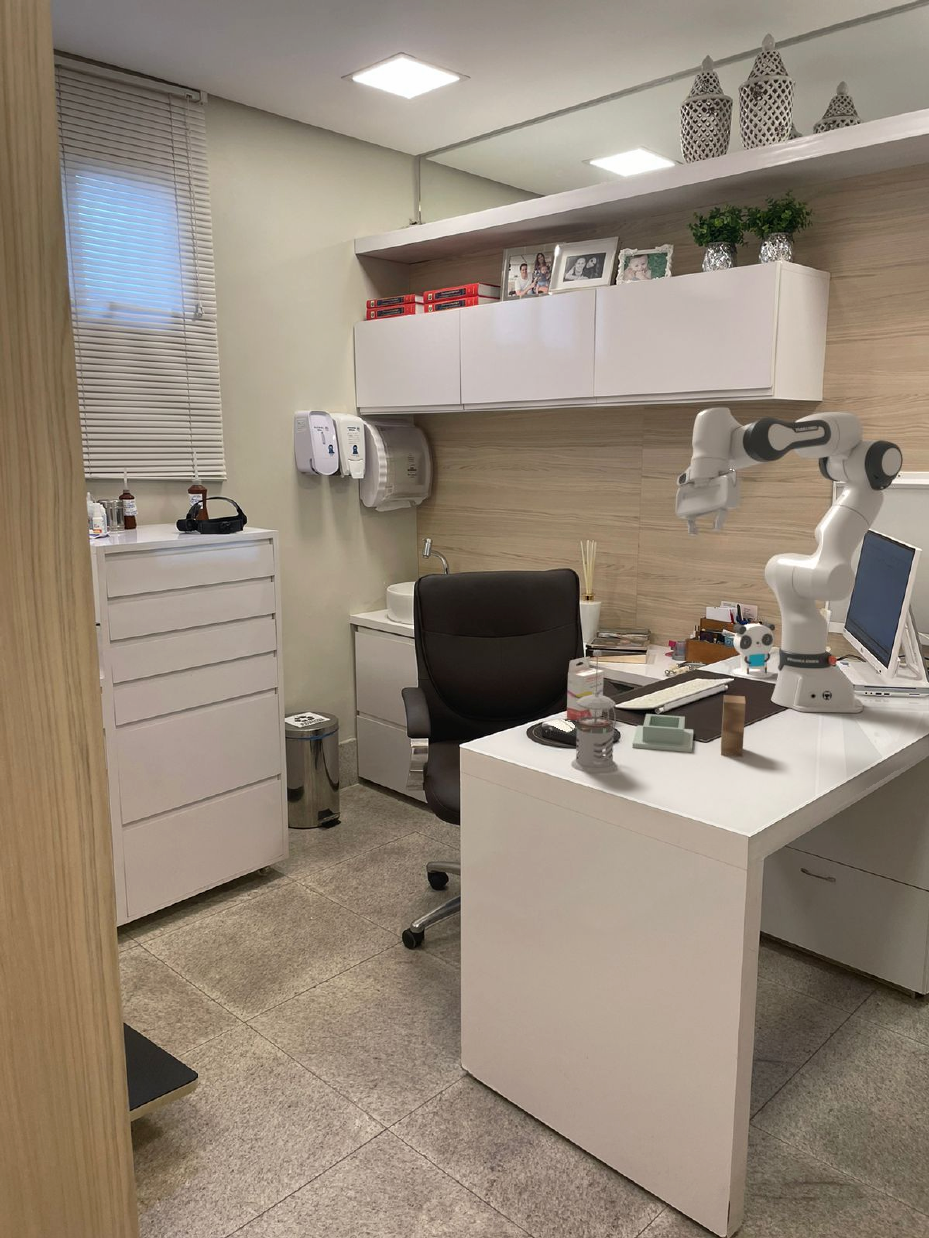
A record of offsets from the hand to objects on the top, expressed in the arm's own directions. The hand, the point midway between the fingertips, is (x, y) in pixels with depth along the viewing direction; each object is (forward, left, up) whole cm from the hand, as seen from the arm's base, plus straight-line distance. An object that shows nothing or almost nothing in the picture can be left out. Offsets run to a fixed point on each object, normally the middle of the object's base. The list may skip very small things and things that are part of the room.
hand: (704, 532), depth 221 cm
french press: (+20, +36, -47) cm, 62 cm away
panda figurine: (-15, -56, -47) cm, 75 cm away
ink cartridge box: (+27, +2, -47) cm, 54 cm away
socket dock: (+7, +16, -47) cm, 50 cm away
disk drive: (+26, +19, -47) cm, 57 cm away
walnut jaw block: (-8, +20, -47) cm, 51 cm away
